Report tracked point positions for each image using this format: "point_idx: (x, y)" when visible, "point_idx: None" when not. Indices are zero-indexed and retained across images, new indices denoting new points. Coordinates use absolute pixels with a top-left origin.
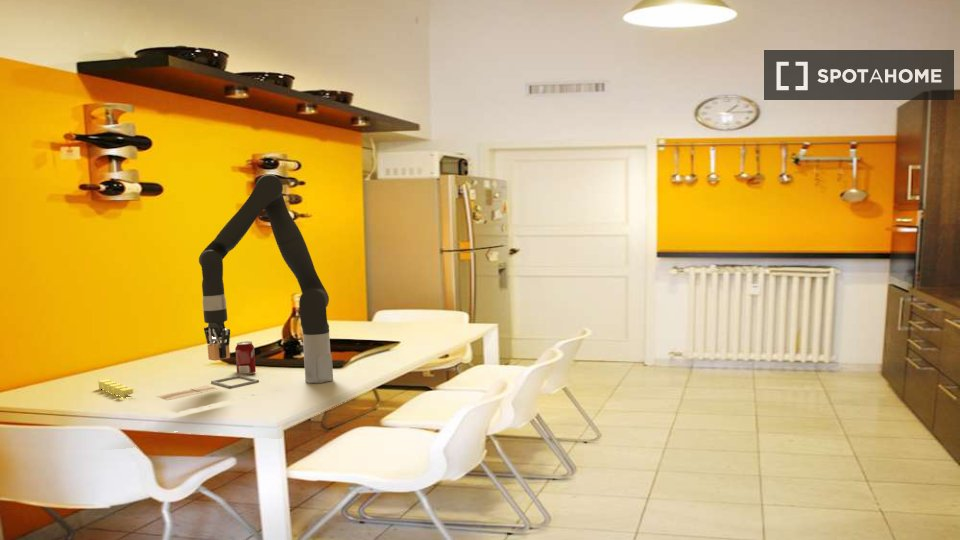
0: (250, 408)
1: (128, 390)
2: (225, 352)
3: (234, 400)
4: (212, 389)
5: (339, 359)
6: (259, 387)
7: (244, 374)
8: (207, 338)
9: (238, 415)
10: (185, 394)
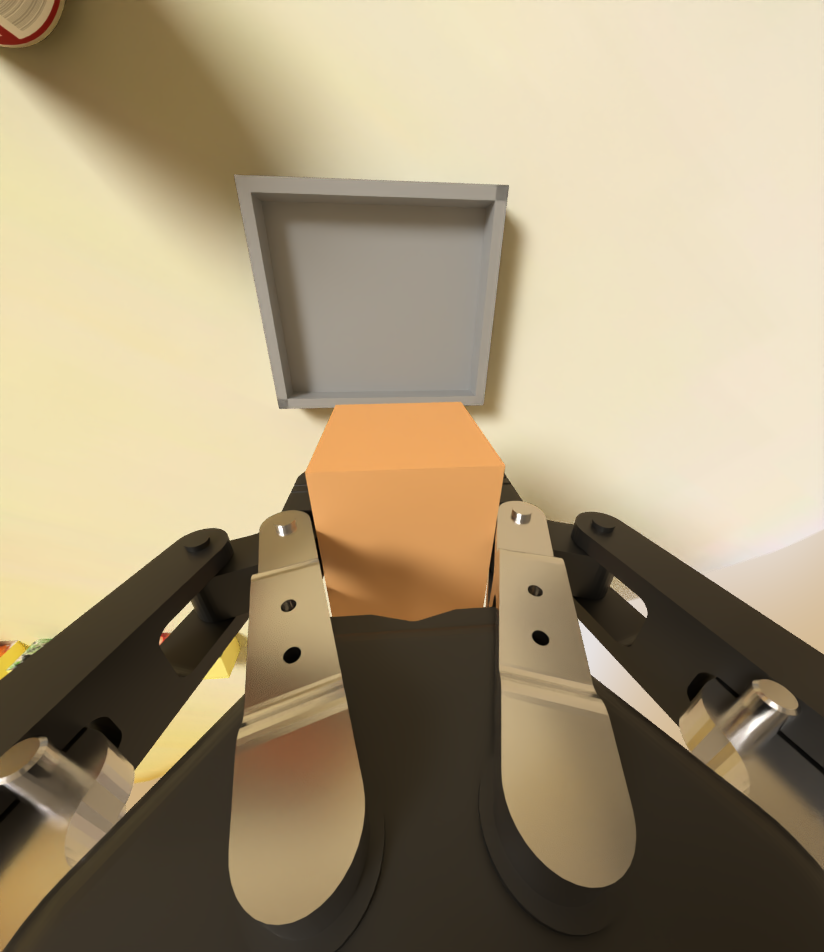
0: (738, 466)
1: (226, 664)
2: (509, 487)
3: (599, 449)
4: None
5: None
6: (520, 218)
7: (62, 9)
8: (203, 667)
9: (745, 524)
10: None
